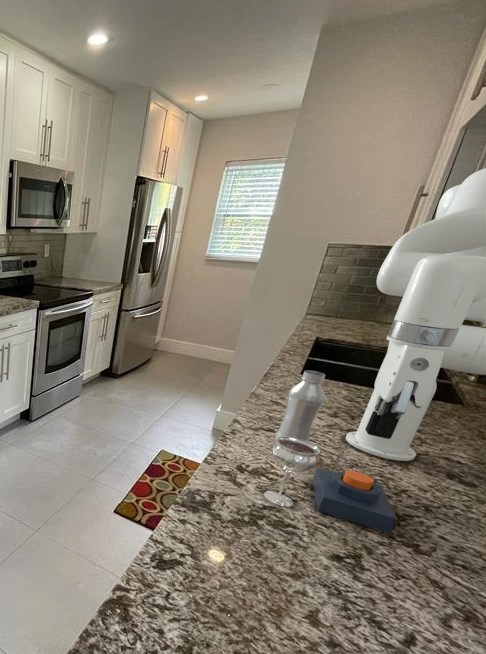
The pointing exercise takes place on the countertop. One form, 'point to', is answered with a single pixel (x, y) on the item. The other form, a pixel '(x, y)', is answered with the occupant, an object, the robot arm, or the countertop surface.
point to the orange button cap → (358, 480)
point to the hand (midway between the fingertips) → (377, 434)
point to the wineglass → (291, 463)
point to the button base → (352, 501)
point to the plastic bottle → (302, 406)
